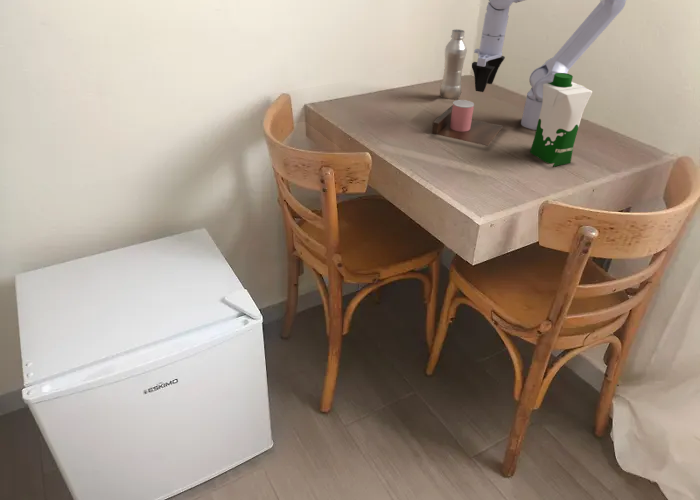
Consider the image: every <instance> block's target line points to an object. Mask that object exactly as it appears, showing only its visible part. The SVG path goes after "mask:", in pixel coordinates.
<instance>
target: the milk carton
mask: <svg viewBox="0 0 700 500" xmlns="http://www.w3.org/2000/svg"><path fill="white" fill-rule="evenodd" d="M573 78H574V76H573V75H572V74H570V73H556V74H555V75H554V79H553V82H551V83H547V84H543V102H542V107H541V112H540V116H539V120H538V124H537V129H536V130H535V133H534V137H533V141H532V144H531V147H530V151H529V153H530V154H531V155H533V156H534V157H536V158H538V159H539V160H541V161H543V162H544V163H546V164H549V165H552V167H559V166H563V165H568V164H571V161H572V157H573V151H574V145H575V142H576V138H577V136H578V135H577V134H578V131H579V127H580V124H581V120H582V116H583V114H584V110H585V108H586V106H587V104H588V102H589V100H590V99H591V96H592V94H593V90H591V89H589V88H587V87H585V86H584V85H581V84H578V83H576V82H574V81H573Z"/></svg>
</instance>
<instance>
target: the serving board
mask: <svg viewBox="0 0 700 500" xmlns="http://www.w3.org/2000/svg"><path fill="white" fill-rule="evenodd" d="M452 108H453V104H452V105H451V106H450V107H449V108H447V109H446V110H445V111H444V112H443V113H442V114H441V115H440V116H438V117H437V118H436V119H434V121H433V122H432V129H431V134H433V135H438V136H442V137H446V138H451V139H455V140H459V141H465V142H469V143H473V144H478V145H482V146H486V147H488V146H489V145H490V144H491V142H492V141H493V140H494V139H495V138H496V136H497V135H498V134H499V133H500V132H501V130H502V129H503V128H504V125H500V124H495V123H492V122H487V121H481V120H477V119H472V121H471V127H470V130H469V131H465V132H460V131H455V130H452V129H451V128H450V122H451V115H452Z"/></svg>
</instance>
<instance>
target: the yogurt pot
mask: <svg viewBox="0 0 700 500" xmlns="http://www.w3.org/2000/svg"><path fill="white" fill-rule="evenodd" d="M452 105H453V108H452V115H451V122H450V128H451V129H452V130H455V131H460V132H465V131H469V130H470V127H471V121H472V120H473V115H474V114H473V113H474V108H475V103H474V102H473V101H471V100H467V99H457V100H453V102H452Z"/></svg>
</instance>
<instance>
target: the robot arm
mask: <svg viewBox="0 0 700 500" xmlns="http://www.w3.org/2000/svg"><path fill="white" fill-rule="evenodd" d="M524 1H526V0H488V2H487V5H486V9H485V10H486V12H485V14H484V19H483V25H482V30H481V37H480V42H479V48H475V49H474V50H473V51H474V54H477V61H473V62H471V69H472V71H473V75H474V76H473V77H474V89H475V92H480V93H485V90H486V87H487V84H488V85H492V84H493V83H494V81H495V78H496V76H497V73H498V71H499V68H500V66H501V65H502V63H503V62H504V61H505V58H506V57H505V56H504V55H503V47H504V42H505V39H506V38H505V37H506V32H507V27H508V23H509V22H508V21H509V12H510V7H511V6H512V5H513V3H515V4H517V3H520V2H524ZM626 3H627V0H599V3H598V4H597V5H596V6H595V7H594V9H593V10H592V11H591V12H590V14H589V15H588V16H587V17H586V18H585V19H584V21H583V22H582V23H581V24H580V25H579V27H577V28H576V30H575V31H574V32H573V33H572V34H571V36H570V37H569V38H568V39H567V40H566V42H565V43H564V44H563V45H562V46H561V47H560V48H559V50H558V51H557V52H556V53H555V54H554V55H553V56H552V57H551V58H549V59H547V60H545V62H543V64H542V65H541V66H538V67H537V68H534V70H532V72H531V73H530V75H529V85H530V86H531V88H530V89H529V90H528V92H527V93H526V97H525V103H524V106H523V111H522V116H521V121H520V125H521V126H522V127H524V128H526V129H529V130H534V131H536V129H537V124H538V120H539V116H540V112H541V107H542V102H543V84H547V83H551V82H553V79H554V75H555V74H556V73H567V74H569V71H570V69H571V68H572V67H573V66H574V65H575V64H576V63H577V61H578V60H579V59H580V58H581V57H582V56H583V55H584V53H586V51H588V50H589V48H590V47H591V45H593V44H594V42H596V40H597V39H598V38H599V37H600V35H601V34H602V33H604V31H605V30H606V29H607V28H608V27H609V25H610V24H611V23H612V22H613V21H614V20H615V18H617V16H619V14H620V13H621V12H622V11H623V9H624V8H625V6H626Z"/></svg>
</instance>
